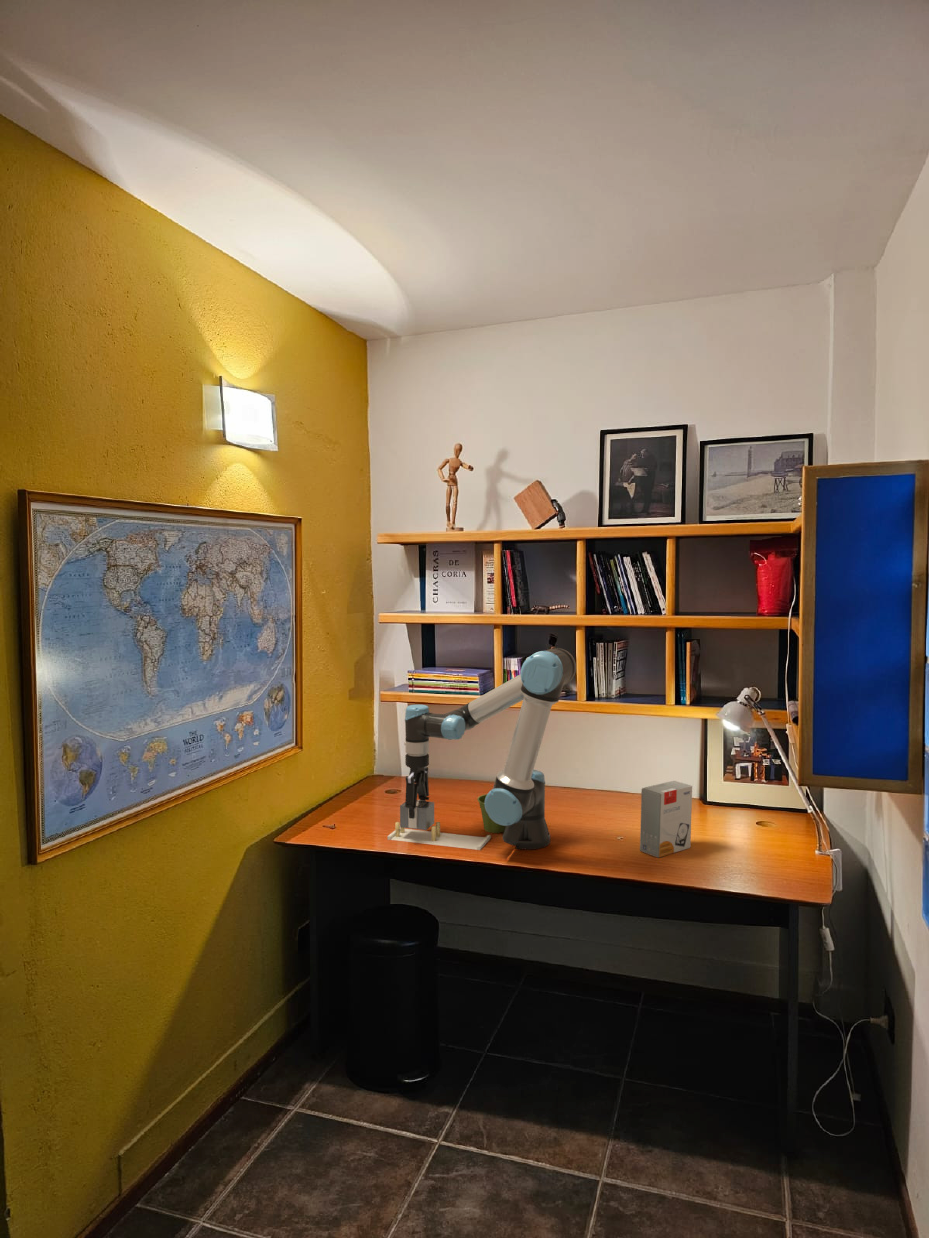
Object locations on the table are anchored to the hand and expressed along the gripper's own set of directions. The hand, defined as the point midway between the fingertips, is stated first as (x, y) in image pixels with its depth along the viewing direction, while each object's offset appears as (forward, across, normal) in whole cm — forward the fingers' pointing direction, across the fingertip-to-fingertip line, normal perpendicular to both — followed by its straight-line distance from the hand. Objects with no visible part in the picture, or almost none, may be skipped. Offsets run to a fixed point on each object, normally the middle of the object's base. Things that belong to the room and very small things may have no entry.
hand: (417, 823), depth 257 cm
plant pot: (+5, -14, +22) cm, 27 cm away
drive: (+1, 0, 0) cm, 1 cm away
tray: (+5, 0, +7) cm, 9 cm away
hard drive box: (+5, -15, +77) cm, 78 cm away
